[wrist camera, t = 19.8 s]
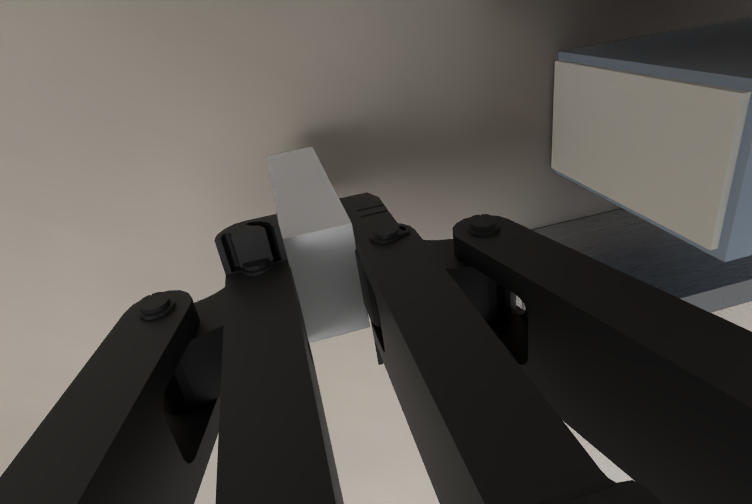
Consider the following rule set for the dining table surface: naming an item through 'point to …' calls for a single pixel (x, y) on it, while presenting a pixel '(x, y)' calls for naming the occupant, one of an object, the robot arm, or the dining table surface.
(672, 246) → the bookend
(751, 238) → the boxed book
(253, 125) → the dining table surface
